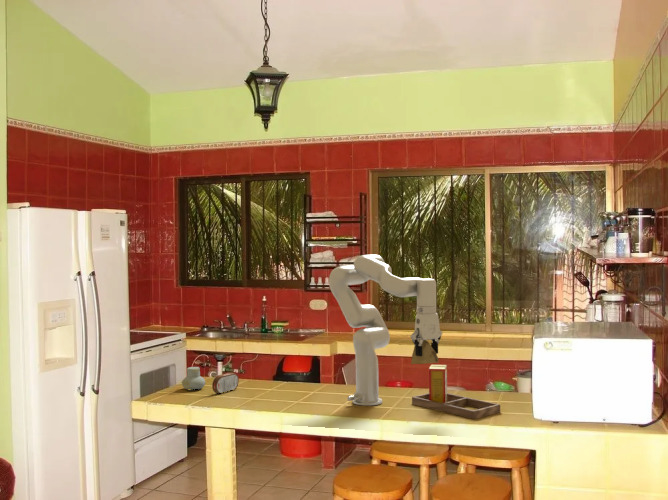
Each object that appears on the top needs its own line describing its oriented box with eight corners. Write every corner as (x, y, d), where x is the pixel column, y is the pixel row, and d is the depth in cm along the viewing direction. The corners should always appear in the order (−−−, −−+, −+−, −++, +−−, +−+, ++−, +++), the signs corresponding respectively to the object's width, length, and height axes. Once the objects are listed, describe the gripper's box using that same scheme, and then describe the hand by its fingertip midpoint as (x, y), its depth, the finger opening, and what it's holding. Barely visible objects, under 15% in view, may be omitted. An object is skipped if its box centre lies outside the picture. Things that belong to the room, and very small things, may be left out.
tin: (235, 388, 326) (234, 370, 326) (240, 389, 324) (239, 371, 324) (211, 394, 314) (211, 376, 314) (216, 395, 312) (216, 377, 312)
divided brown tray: (474, 419, 266) (474, 411, 266) (412, 404, 291) (411, 396, 291) (500, 412, 276) (500, 404, 276) (438, 397, 301) (437, 391, 301)
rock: (443, 355, 277) (419, 350, 281) (441, 340, 272) (417, 335, 276) (434, 375, 270) (410, 369, 274) (432, 360, 264) (408, 355, 269)
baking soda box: (445, 407, 285) (444, 368, 285) (429, 406, 287) (428, 367, 286) (447, 401, 294) (446, 364, 294) (431, 401, 296) (431, 363, 296)
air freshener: (179, 388, 328) (179, 367, 328) (195, 386, 333) (194, 365, 333) (192, 392, 320) (191, 370, 320) (207, 389, 325) (207, 368, 325)
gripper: (418, 312, 264) (418, 358, 265) (448, 309, 275) (449, 353, 276) (404, 311, 270) (404, 355, 271) (434, 307, 281) (434, 350, 282)
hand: (426, 354), depth 273 cm, fingers closed on rock, 8 cm apart
